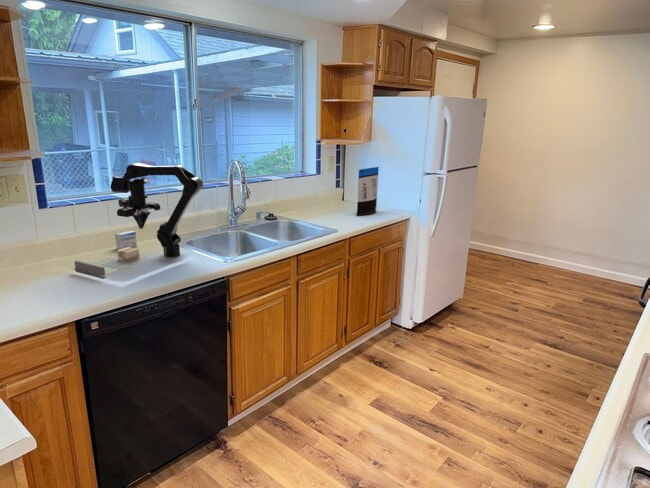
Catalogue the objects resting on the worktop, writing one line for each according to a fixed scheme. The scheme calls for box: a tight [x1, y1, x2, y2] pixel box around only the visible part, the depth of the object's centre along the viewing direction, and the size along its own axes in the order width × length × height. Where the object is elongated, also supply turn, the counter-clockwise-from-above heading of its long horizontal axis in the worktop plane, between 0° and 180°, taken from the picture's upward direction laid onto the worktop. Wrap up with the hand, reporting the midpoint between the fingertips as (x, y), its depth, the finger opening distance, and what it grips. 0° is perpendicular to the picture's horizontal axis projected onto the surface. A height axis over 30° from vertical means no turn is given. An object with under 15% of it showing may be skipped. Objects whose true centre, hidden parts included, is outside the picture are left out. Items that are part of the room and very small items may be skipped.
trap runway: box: [73, 254, 152, 280], centre depth 184 cm, size 16×24×4 cm, turn 154°
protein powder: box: [356, 166, 380, 217], centre depth 292 cm, size 10×24×30 cm, turn 143°
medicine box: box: [114, 230, 138, 250], centre depth 205 cm, size 8×4×9 cm, turn 148°
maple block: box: [116, 247, 140, 262], centre depth 190 cm, size 6×6×4 cm
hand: (141, 228), depth 194 cm, fingers closed
